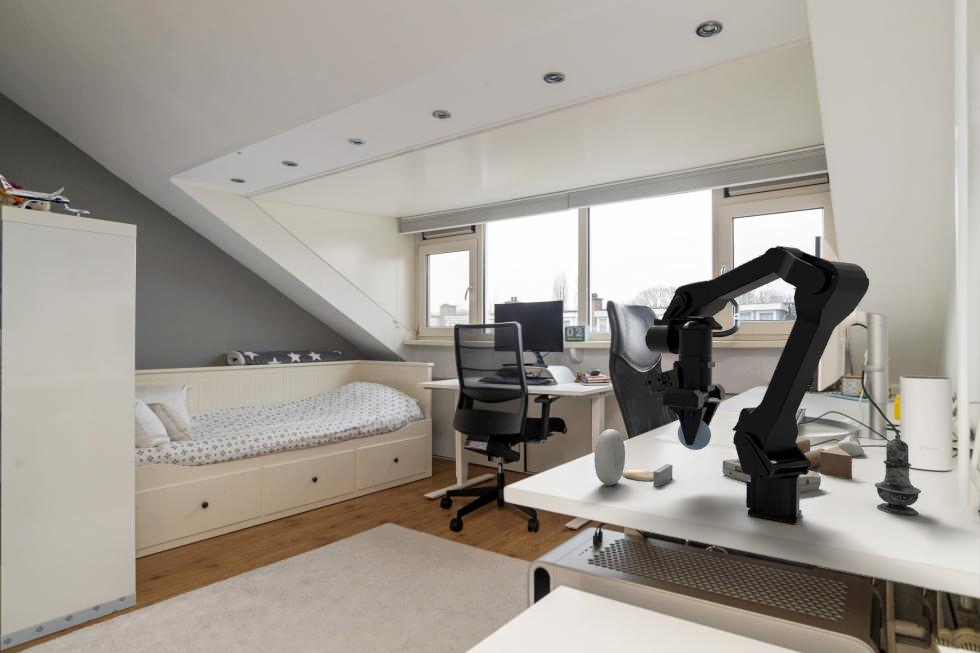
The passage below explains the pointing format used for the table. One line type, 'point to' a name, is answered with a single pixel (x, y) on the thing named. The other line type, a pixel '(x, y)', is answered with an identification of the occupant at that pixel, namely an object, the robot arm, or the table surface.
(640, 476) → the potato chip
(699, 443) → the ball
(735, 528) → the table surface
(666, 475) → the gray rectangular bar
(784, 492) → the robot arm
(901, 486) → the grey stone finial
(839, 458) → the wooden block set
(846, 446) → the pale two-lobed sculpture
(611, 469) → the white plump rounded part
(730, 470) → the handheld gaming console
